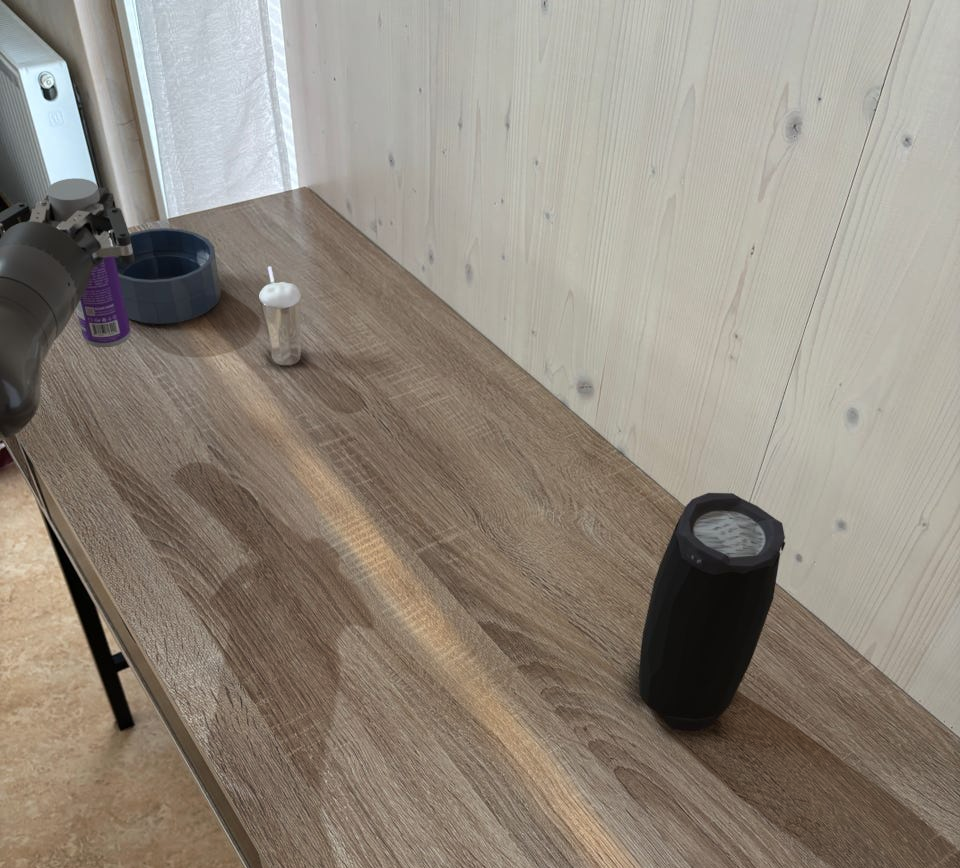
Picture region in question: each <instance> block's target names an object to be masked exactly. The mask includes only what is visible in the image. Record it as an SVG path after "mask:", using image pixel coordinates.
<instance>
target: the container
mask: <svg viewBox="0 0 960 868" xmlns="http://www.w3.org/2000/svg"><path fill="white" fill-rule="evenodd" d="M98 189H99V186H98V185H97V184H96V182H94V181H92V180H89V179H86V178H76V177H75V178H74V177H73V178H66V179H61V180H58V181H55V182H53V183H51V184H50V185H49V186H48V187H47V190H46V194H47V195H48V198H49V202H50V204H51V208H52V210H53V215H54V219H55V221H58V222H62V221H67V220H68V219H69V218H70V217H71V216H72V215H73V214H74V213H75V212H76V211H77V210H81V211H85V210H86V209H87V208H88V207H89V206H90V205H92V204H94V203H97V202H98V201H99V200H100V195H99V190H98ZM107 237H109V232H108V233H107V234H106V235H105V236H104V237H103V238H102V239H101V240H100V243H103V242H105V241H106V238H107ZM75 311H76V315H77V319H78V323H79V326H80V330H81V334H82V338H83V340H84V342H85V343H86V344H88V345H89V346H92V347H95V348H112V347H116V346H120V345H122V344H123V343H125V342H127V341H128V340H129V339H130V337H131V334H132V331H131V327H130V326H131V325H130V322H129V318H128V317H127V312H126V308H125V303H124V299H123V294H122V289H121V285H120V280H119V276H118V271H117V266H116V262H115V257H107V258H103V261H102V263H101V264H100V265H99V266H97V267H95V268H94V269H93V270H92V271H91V275H90V280H89V283H88V286H87V288H86V290H85V292H84V294H83V296H82V298H81V299H80V301H79V303H78V305H77V307H76V309H75Z"/></svg>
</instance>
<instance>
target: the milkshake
mask: <svg viewBox="0 0 960 868" xmlns="http://www.w3.org/2000/svg"><path fill="white" fill-rule="evenodd" d="M266 269H267V273H268V278H269V283H268V284H266V285H265V286H264V287H263V288H262V289H261V290H260V291H259V293H258V294H259V295H258V297H259V302H260V306H261V307H260V308H261V310H262V316H263V320H264V324H265V330H266V335H267V339H268V344H269V349H270V350H269V351H270V354H271V359H272V361H273V362H274V364H276V365H279V366H284V367H285V366H294V365H295V364H297V363H298V362H299V361H300V359H301V357H302V356H301V355H302V354H301V351H302V350H301V343H302V342H301V291H300V290H299V288H298V287H297V286H296V285H295V284H294V283H289V282H287V281H280V282H276V281H275V278H274V273H273V268H272V266H271V265H269V266H266Z"/></svg>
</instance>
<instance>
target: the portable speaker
mask: <svg viewBox="0 0 960 868" xmlns="http://www.w3.org/2000/svg"><path fill="white" fill-rule="evenodd" d="M785 539H786V535H785V530H784V525H783V522H781V521H780V520H778V519H776V518H775V517H774V516H772V515H771V514H770V513H769V512H766V511H765V510H764V509H762V508H761V507H760V506H758V505H756V504H754V503H752V502H750V501H748V500H746V499H744V498H741V496H739V495H737V494H735V493H732V492H707V493H704V494H701V495H699V496H696V497H694V498H692V499H691V500H690V501H689V502H688V503H687V504H686V506H685V507H684V508H683V511H682V512H681V515H680V516H679V519H678V521H677V523H676V524H675V528H674V529H673V533H672V534H671V537H670V539H669V542H668V544H667V546H666V549H665V551H664V553H663V556H662V558H661V561H660V563H659V566H658V569H657V571H656V575H655V578H654V581H653V585H652V590H651V595H650V600H649V604H648V608H647V611H646V617H645V622H644V626H643V630H642V636H641V644H640V645H641V646H640V656H639V657H640V658H639V667H638V668H639V670H638V693H639V694H638V695H639V697H641V699H642V700H643V702H644V703H645V704H646V705H647V706H648V707H649V708H650V709H651V710H652V711H654V712H655V713H656V714H657V715H658V716H659V717H661V719H662V720H663V721H664V722H666V723H667V725H669V727H670V728H671V729H673V730H680V731H681V730H682V731H689V732H690V731H691V732H696V731H699V730H702V729H706V728H709V727H712V725H713V724H714V723H715V721H716V722H717V720H718V719H719V718H720V716H722V715H723V714H724V713H725V711H726V710H727V709H729V707H730V705H731V703H732V702H733V699H734V697H735V695H736V693H737V691H738V689H739V687H740V685H741V684H742V683H743V682H744V680H745V676H746V673H747V671H748V669H749V667H750V664H751V662H752V659H753V656H754V654H755V651H756V648H757V646H758V643H759V640H760V638H761V635H762V632H763V629H764V626H765V624H766V620H767V618H768V615H769V612H770V610H771V607H772V604H773V601H774V596H775V590H776V583H777V579H778V578H777V577H778V572H779V571H778V570H779V565H780V558H781V555H782V553H783V551H784V548H785V545H786V542H785Z"/></svg>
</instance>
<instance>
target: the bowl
mask: <svg viewBox="0 0 960 868" xmlns="http://www.w3.org/2000/svg"><path fill="white" fill-rule="evenodd" d="M129 235H130V240H131V245H132V250H133V254H134V259H135V261H134V262H133V263H130V264H124V263H122V262H121V260H120V257H115V262H116V266H117V271H118V276H119V280H120V285H121V289H122V294H123V299H124V303H125V308H126V312H127V317H128V320H132V321H136V322H139V323H143V324H157V325H164V324H174V323H180V322H184V321H185V322H186V321H188V320H192V319H196V318H198V317H200V316H202V315H204V314H206V313H208V312H209V311H211V309H213V308H214V307H215V306H216V305H217V304H218V303H219V300H220V299H221V297H222V290H221V284H220V283H221V282H220V276H219V268H218V262H217V256H216V255H217V254H216V249H215V246H214V245H213V243H212V242H211V241H210V240H209V238H207V237H205V236H203V235H202V234H199V233H197V232H194V231H190V230H187V229H181V228H169V227H162V228H149V229H143V230H139V231H134V232H129Z"/></svg>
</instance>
